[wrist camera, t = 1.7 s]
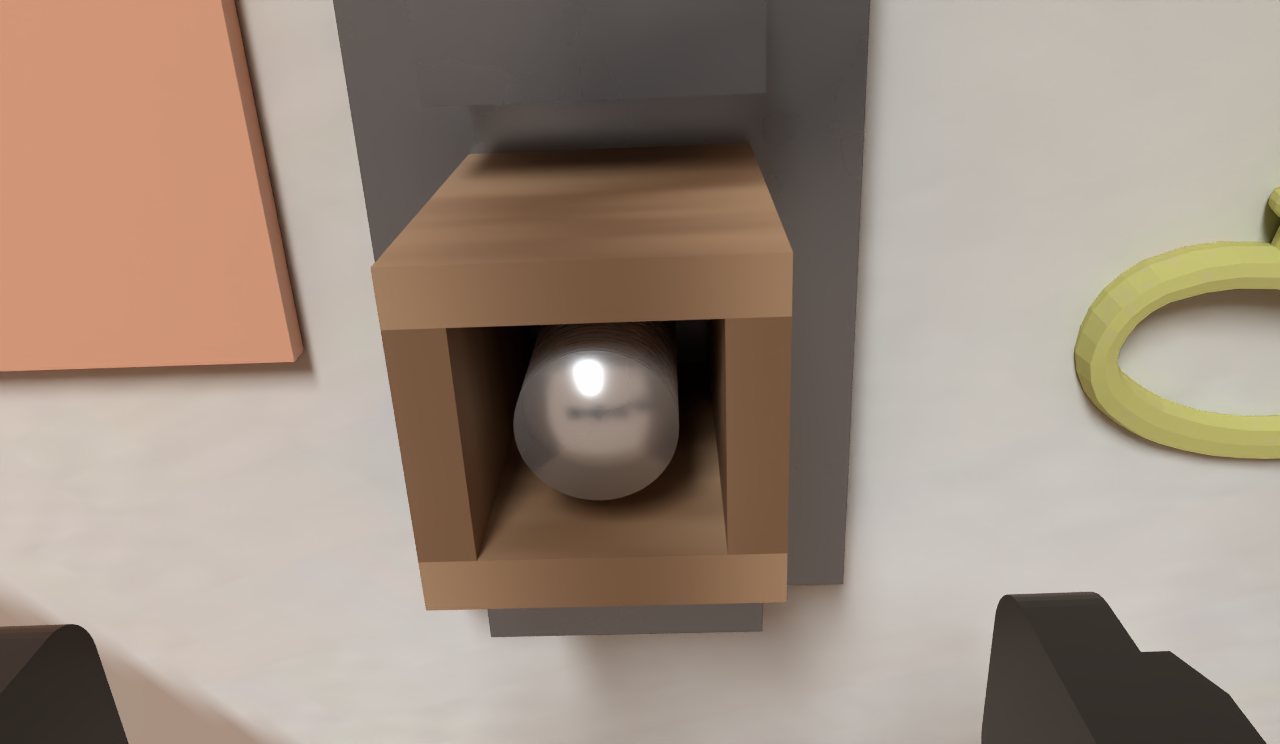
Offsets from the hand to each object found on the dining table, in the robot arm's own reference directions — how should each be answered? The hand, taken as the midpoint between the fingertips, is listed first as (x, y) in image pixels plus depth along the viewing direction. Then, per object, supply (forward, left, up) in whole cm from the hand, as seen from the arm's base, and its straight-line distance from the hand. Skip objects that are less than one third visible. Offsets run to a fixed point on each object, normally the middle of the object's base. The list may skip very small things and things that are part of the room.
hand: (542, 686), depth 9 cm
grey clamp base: (0, 0, -13) cm, 13 cm away
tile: (+11, -3, -13) cm, 17 cm away
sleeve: (0, 0, -11) cm, 11 cm away
